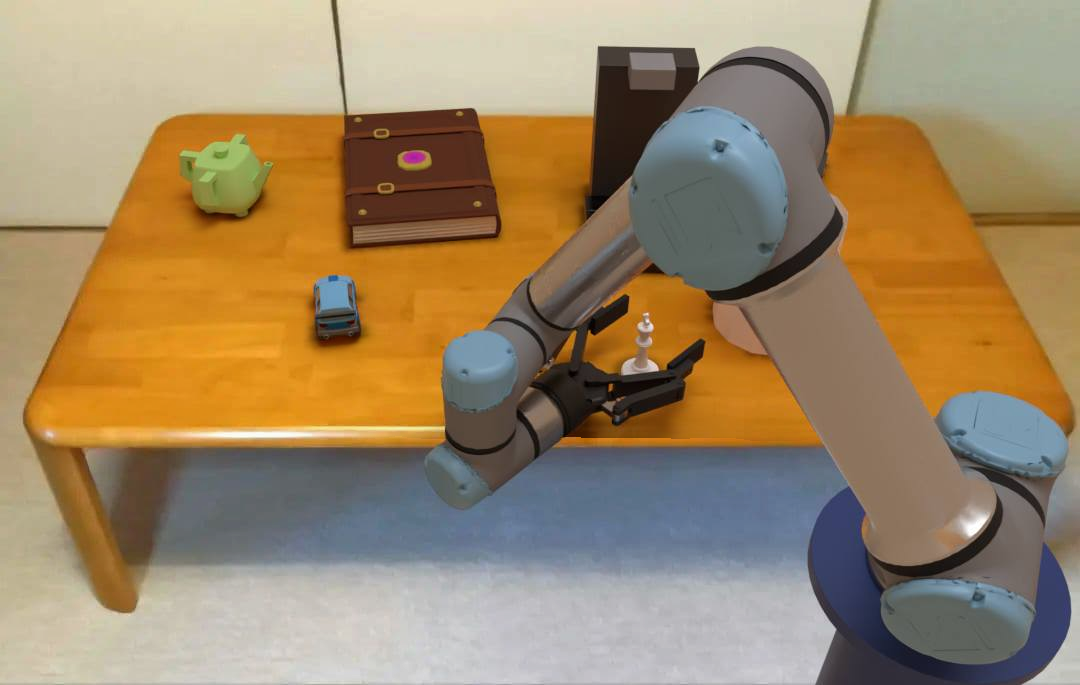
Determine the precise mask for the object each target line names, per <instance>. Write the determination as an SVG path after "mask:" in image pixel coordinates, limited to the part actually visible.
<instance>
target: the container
mask: <svg viewBox="0 0 1080 685" xmlns="http://www.w3.org/2000/svg"><path fill="white" fill-rule="evenodd" d="M830 195H831V197H832V199H833V201H834V203H835V205H836V206H837V208H838V210H839V212H840V214H841V215H842V217H843V220H844V223H845V229H844V232H843V235H842V238H841V240H840V243H839V246H838V248H837V251H838V252H839V254H840V255H841V251H842V246H843V243H844V239H845V237H846V236H845V235H846V233H847V228H848V227H847V226H848V222H849V221H848V220H849V214H850V212H849V211H848V210H847V209H846V207H845V206H844V204H843V203H842V202H841V200H840V199H839V197H837V196H836V195H834V194H832V193H830ZM712 318H713V327H714V328H715V329H716V330H717V331H718V332H719V333H720V335H721V336H722V337H723V338H724V339H725V340H726V342H728V343H729V344H732V345H734V346H736V347H738V348H740V349H741V350H744V351H746V352H748V353H749V354H755V355H756V354H757V355H763V356H768V354H767V353H766V351H765V350H764V348H763V346H762V345H761V343H760V342H759V340H758V338H757V337H756V335H755V334H754V332H753V330H752V329H751V327H750V326H749V324H748V322H747V321H746V319H745V317H744V316H743V314H742V313H741V311H740V309H739V308H738V307H737V306H732V305H725V304H719V303H715V302H714V301H713V303H712Z"/></svg>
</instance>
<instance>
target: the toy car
mask: <svg viewBox="0 0 1080 685" xmlns="http://www.w3.org/2000/svg"><path fill="white" fill-rule="evenodd" d="M313 296H314V302H315V316H314V332H315V337H316V339H317V340H318V341H320V340H328V339H329V338H333V337H342V336H349V337H352V336H361V334H362V323H361V318H360V314H359V310H358V304H357V291H356V284H355V281H354V280H353V278H351V277H350V276H349V275H338V274H331V275H328V276H326V277H325V276H324V277H320V278H318V279H316V282H315V283H314V285H313Z"/></svg>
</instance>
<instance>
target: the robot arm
mask: <svg viewBox="0 0 1080 685" xmlns="http://www.w3.org/2000/svg"><path fill="white" fill-rule="evenodd" d="M833 103H834V102H833V99H832V95H831V92H830V89H829V87H828V85H827V83H826V81H825V79H824V78H823V76H822V75H821V74H820V73H819V71H818V70H817V69H816V67H815V66H814V65H812V63H810V62H809V61H808V60H807V59H805V58H804V57H802V56H800V55H799V54H796V53H794V52H793V51H791V50H788V49H784V48H780V47H775V46H764V45H763V46H758V45H757V46H750V47H745V48H741V49H739V50H736V51H734V52H731V53H729V54H727V55H726V56H724V57H722V58H721V59H720V60H718V61H717V62H715V63H714V64H713V65H712V66H711V67H709V69H707V71H705V73H703V75H702V76H701V77H700V79H698V83H697V84H696V86H695V87H694V88H693V90H692V91H691V92H690V93H689V95H688V96H687V97H686V98H685V100H684V101H683V102H682V103H681V105H680V106H679V107H678V108H677V110H676V111H675V112H674V113H673V115H672V116H671V117H670V118H669V120H668V121H666V122H664V123H663V124H662V125H661V126H660V127H659V128H658V130H657V131H656V132H655V133H654V135H653V136H652V138H651V139H650V141H649V142H648V144H647V146H646V148H645V150H644V152H643V155H642V157H641V158H640V160H639V162H638V164H637V166H636V168H635V170H634V173H633V175H632V176H631V177H630V178H629V179H628V180H627V181H626V182H625V183H624V184H623V185H622V186H621V187H620V188H619V189H618V190H617V191H616V192H615V193H614V194H613V195H612V196H611V197H610V198H609V199H608V200H607V201H606V202H605V203H604V204H603V205H602V206H601V207H600V208H599V209H598V210H597V211H596V212H595V213H594V214H593V215H592V216H591V217H590V218H589V219H588V220H587V221H586V222H585V221H584V223H583V224H582V225H581V226H580V227H579V228H578V229H577V230H576V231H575V232H573V234H572V235H571V236H570V237H569V238H567V240H566V241H565V242H564V243H563V244H562V245H561V246H560V247H559V248H558V249H557V250H556V251H555V252H553V254H552V255H551V256H549V258H548V259H547V260H546V261H545V262H544V263H542V265H541V266H540V267H538V268H537V270H535V271H532V272H531V273H530V274H528V276H526V278H524V279H523V280H522V281H521V282H520V283H519V284H517V286H516V288H515V289H514V290H513V291H512V293H511V295H510V297H509V298H508V299H507V300H506V301H505V303H504V304H503V305H502V306H501V307H500V309H499V311H498V312H497V313H496V314H495V315H494V317H493V318H492V320H490V322H488V323H487V325H486V326H485V327H484V328H483V329H482V330H481V329H480V330H479V329H477V330H470V331H467V332H465V333H464V335H462V336H456V337H455V338H453V339H452V340H451V341H450V342H449V343H448V344H447V346H446V347H445V349H444V351H443V355H442V366H441V367H442V369H441V376H440V382H441V385H440V387H441V391H442V401H443V402H442V403H443V413H444V426H445V427H444V441H442V442H441V443H438V444H437V445H435V447H434V448H433V449H432V450H430V452H429V453H428V454H427V455H426V456H425V458H424V461H423V469H424V475H425V477H426V479H427V482H428V483H429V485H430V487H431V489H432V490H433V491H434V493H435V494H436V495H437V497H439V499H441V500H442V501H443V503H445V504H447V506H449V507H451V508H453V509H456V510H459V511H466V510H469V509H471V508H473V507H474V506H476V505H477V504H479V503H480V502H481V501H483V500H484V499H486V498H488V497H492V496H493V494H494V493H496V492H497V490H499V489H500V488H502V487H503V486H504V485H506V484H507V483H508V482H509V481H511V480H512V479H513V478H514V477H516V476H517V475H518V474H519V473H520V472H522V471H524V469H526V468H527V467H528V466H530V465H531V464H532V463H533V462H534V461H536V460H537V459H538V458H539V457H541V456H542V455H544V454H545V453H546V452H547V451H549V450H550V449H552V448H553V447H554V446H555V445H557V444H559V442H560V441H562V439H564V438H566V437H568V436H569V435H570V434H572V433H573V432H574V431H575V430H577V429H578V428H580V427H581V426H582V425H583V424H585V422H586V421H588V419H589V418H590V417H591V416H592V415H594V414H597V413H601V412H602V413H604V414H605V415H607V416H608V417H609V418H610V419H611V421H610V423H611V425H612V426H614V427H619V426H621V425H622V424H625V422H627V421H628V420H629V419H630V418H634V417H637V416H639V415H643V414H646V413H648V412H652V411H655V410H658V409H660V408H664V407H667V406H670V405H673V404H675V403H679V402H682V401H684V398H685V397H684V396H685V393H686V392H685V391H686V385H687V382H686V381H685V379H686V378H687V377H689V376H690V375H691V374H692V373H693V371H694V366H695V364H696V363H697V362H699V361H700V360H702V359H703V357H704V352H705V345H706V340H704V339H703V338H698V339H697V340H696V341H695V342H694V343H692V344H691V345H689V346H688V347H687V348H686V349H685V350H683V351H682V352H681V353H679V354H678V355H676V356H675V357H674V358H673V359H671V360H670V361H669V362H668V363H666V369H661V370H659V371H653V372H645V373H637V374H629V375H621V374H619V373H618V372H613V373H607V372H606V371H604V370H603V369H600V368H598V367H596V366H595V365H594V364H593V363H592V362H590V361H589V360H587V361H584V357H585V352H586V347H587V341H588V337H589V332H590V334H591V335H592V336H594V337H595V336H597V335H598V334H599V333H601V332H602V331H604V330H605V329H606V328H608V327H610V326H611V325H613V324H614V323H615V322H618V320H620V319H621V318H622V317H624V316H626V314H628V313H629V307H630V295H628V294H627V293H624V294H623V295H621V296H619V297H618V298H617V299H615V300H614V301H612V302H611V303H609V304H608V305H606V306H605V307H604V305H605V304H607V303H608V302H609V301H610V300H612V299H613V298H614V297H615V296H616V295H617V294H618V293H619V292H621V291H622V290H623V289H624V288H625V287H627V286H628V285H629V284H630V283H631V282H632V281H634V280H635V279H636V278H637V277H638V276H639V275H640V274H642V273H641V272H643V271H644V270H645V269H646V268H647V267H648V266H650V265H651V264H652V263H654V264H655V265H656V266H657V267H658V268H660V269H661V270H662V271H663V272H664V273H663V274H665V275H667V276H669V277H670V278H675V277H678V278H681V279H682V280H683V282H682V283H683V285H685V286H688V287H691V288H693V289H697V290H702V291H704V292H705V294H706V296H707V297H708V299H710V301H711V302H713V303H714V302H715V303H719V304H725V305H732V306H737V307H738V308H739V309H740V311H741V313H742V314H743V316H744V317H745V319H746V321H747V322H748V324H749V326H750V327H751V329H752V330H753V332H754V334H755V335H756V337H757V338H758V340H759V342H760V343H761V345H762V346H763V348H764V350H765V351H766V353H767V354H768V355H767V356H768V357H769V359H770V361H771V362H772V365H773V366H774V367H775V369H776V371H777V372H778V374H779V375H780V377H781V379H782V380H783V383H785V385H786V387H787V388H788V390H789V391H790V394H792V396H793V398H794V400H795V401H796V403H797V404H798V406H799V407H800V409H801V411H802V412H803V414H804V416H805V417H806V419H807V420H808V422H809V423H810V425H811V427H812V428H813V430H814V431H815V432H814V433H816V435H817V436H818V438H819V440H820V441H821V443H822V445H823V447H824V448H825V449H826V451H827V452H828V454H829V456H830V457H831V459H832V461H833V462H834V464H835V465H836V467H837V468H838V470H839V472H840V473H841V475H842V477H843V479H844V480H845V481H846V483H847V484H848V486H850V488H851V489H852V491H853V493H854V494H855V496H856V497H857V499H858V501H859V502H860V504H861V505H862V507H863V509H864V510H865V512H866V515H865V517H864V520H863V523H862V537H863V541H864V543H865V546H866V563H867V568H868V571H869V574H870V576H871V578H872V580H873V582H874V583H875V585H876V587H877V588H878V589H879V591H880V592H881V593H882V596H881V598H880V601H881V603H882V604H881V616H882V619H883V622H884V624H885V625H886V627H887V628H888V630H889V631H890V632H891V633H892V634H893V635H894V636H895V637H896V638H897V639H898V640H899V641H901V642H902V643H904V644H905V645H907V646H908V647H910V648H912V649H914V650H916V651H918V652H920V653H922V654H925V655H929V656H932V657H934V658H936V659H940V660H943V661H947V662H953V663H959V664H989V663H995V662H999V661H1002V660H1005V659H1008V658H1010V657H1012V656H1013V655H1015V654H1016V653H1017V651H1018V650H1020V649H1021V648H1022V647H1024V645H1025V644H1026V642H1027V640H1028V637H1029V632H1030V628H1031V623H1032V622H1033V621H1034V616H1036V615H1035V614H1036V610H1035V602H1036V594H1037V586H1038V578H1039V570H1040V563H1041V555H1042V547H1043V541H1044V538H1045V528H1046V523H1047V516H1048V514H1047V513H1048V509H1049V502H1050V496H1051V493H1052V490H1053V487H1054V485H1055V482H1056V480H1057V479H1058V477H1059V475H1061V474H1062V473H1063V472H1064V470H1065V469H1066V466H1067V465H1066V461H1067V459H1068V456H1069V452H1070V451H1069V442H1068V439H1067V436H1066V435H1065V432H1064V431H1063V429H1062V428H1061V427H1060V425H1059V424H1058V423H1057V422H1056V421H1055V420H1054V419H1053V418H1051V417H1049V416H1048V415H1047V414H1045V412H1044V411H1043V410H1041V408H1038V407H1037V406H1036V405H1033V404H1032V403H1029V402H1027V401H1025V400H1023V399H1021V398H1018V397H1015V396H1012V395H1009V394H1005V393H1002V392H996V391H991V390H974V391H971V392H961V393H958V394H955V395H953V396H952V397H950V398H949V399H947V400H946V401H945V402H944V403H943V404H942V406H941V407H940V409H939V411H938V413H937V414H936V415H935V416H934V417H932V415H931V413H930V411H929V410H928V408H927V406H926V404H925V402H924V401H923V399H922V397H921V396H920V393H919V392H918V390H917V388H916V387H915V385H914V383H913V382H912V379H911V378H910V377H909V374H908V372H907V371H906V369H905V368H904V365H903V364H902V362H901V360H900V358H899V357H898V355H897V353H896V351H895V349H894V348H893V346H892V344H891V342H890V341H889V338H888V337H887V335H886V334H885V332H884V329H883V328H882V326H881V325H880V323H879V321H878V320H877V318H876V316H875V314H874V313H873V311H872V309H871V307H870V305H869V304H868V302H867V300H866V298H865V297H864V294H863V293H862V292H861V289H860V287H859V286H858V285H857V282H856V280H855V278H854V277H853V275H852V274H851V272H850V270H849V269H848V266H847V265H846V263H845V262H844V260H843V258H842V256H841V253H840V254H839V252H838V251H837V248H838V246H839V243H840V240H841V238H842V235H843V232H844V229H845V223H844V220H843V217H842V215H841V214H840V212H839V210H838V208H837V206H836V205H835V203H834V201H833V199H832V197H831V195H830V194H831V193H830V192H829V190H828V188H827V186H826V185H825V183H824V181H823V178H822V179H821V177H820V175H819V173H818V171H817V169H818V167H819V165H820V163H821V161H822V159H823V157H824V155H825V153H826V151H827V152H828V148H829V146H830V144H831V140H832V137H833V133H834V126H835V125H834V124H835V108H834V104H833ZM574 332H576V333H575V336H574V337H575V338H574V343H573V348H572V350H571V354H570V359H569V362H560V363H559V362H557V363H555V361H556V360H557V358H558V356H559V355H560V353H561V352H562V350H563V348H564V347H565V345H566V343H567V342H568V341H569V339H570V337H571V335H572V334H573V333H574ZM538 374H539V375H538ZM610 385H612V387H611V390H610Z"/></svg>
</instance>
